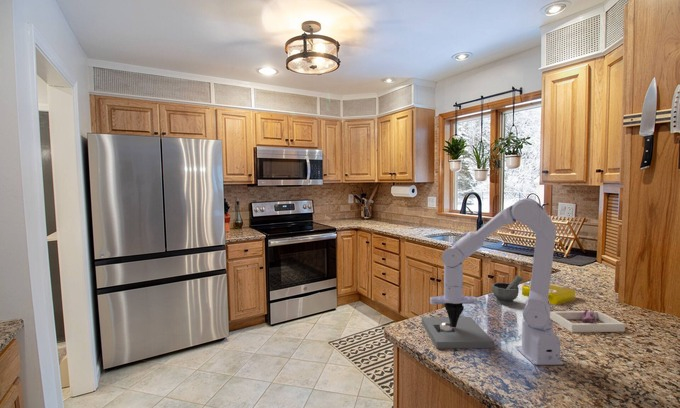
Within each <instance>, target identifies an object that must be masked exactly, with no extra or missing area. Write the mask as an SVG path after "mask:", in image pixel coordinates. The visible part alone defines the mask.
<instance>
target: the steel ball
mask: <svg viewBox="0 0 680 408" xmlns="http://www.w3.org/2000/svg"><path fill="white" fill-rule="evenodd" d="M439 329H440V331H439V332H452V326H451V325H450V324H449V323H447V322H443V323H441V324H440V327H439Z"/></svg>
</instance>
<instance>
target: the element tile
mask: <svg viewBox="0 0 680 408" xmlns="http://www.w3.org/2000/svg"><path fill="white" fill-rule="evenodd" d="M530 285H531V283H526V284H523V285H521V295H522V296H525V297H528V298H529V293H530ZM548 300H549V303H550V305H555V306H556V305H558V306H559V305H563V304H564V303H565V304H566V303H570V302H572V301H575V300H576V289H574V288H570V287H566V286H562V285H559V284H554V283H551V282H550V287H549V296H548Z"/></svg>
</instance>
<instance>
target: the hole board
mask: <svg viewBox="0 0 680 408" xmlns="http://www.w3.org/2000/svg"><path fill="white" fill-rule="evenodd" d="M443 322H447V323H449V324H450V320H449V316H429V317H428V316H427V317H425V316H422V317H421V324H422V327H423V329H424V330H425V331H426V332H427V335H428V337H429V338H430V340H431V342H432V344H433V345H434V347H435V348H436V349H494V348H495V340H494V339H492V337H491V336H490V335H489V334H488V333H487V332H486V331H484V329H483V328H482V327H481V326H480V325H479V324H478V323H477V322H476V321H475V320H474V319H473V318H472V317H471V316H459V319H458V322H457V326H456V327H452V332H440V329H439V327H440V324H441V323H443Z"/></svg>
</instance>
